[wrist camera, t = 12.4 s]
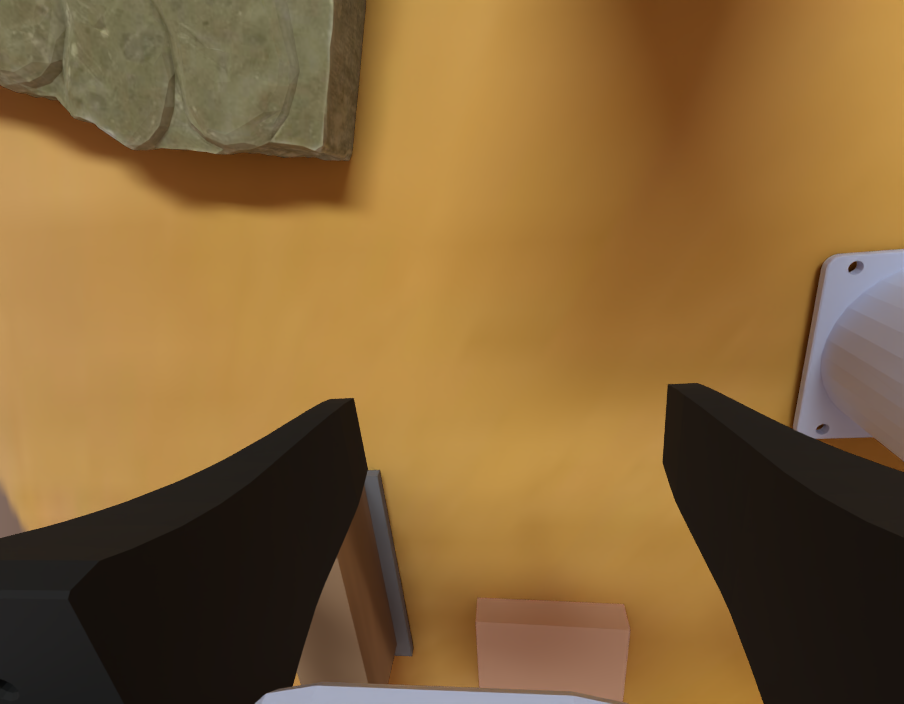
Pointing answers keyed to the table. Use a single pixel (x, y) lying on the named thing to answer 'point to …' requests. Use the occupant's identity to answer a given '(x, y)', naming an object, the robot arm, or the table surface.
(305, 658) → the brown wooden plank
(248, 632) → the robot arm
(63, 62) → the decorative tile
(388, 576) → the mat
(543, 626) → the tile
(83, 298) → the table surface
